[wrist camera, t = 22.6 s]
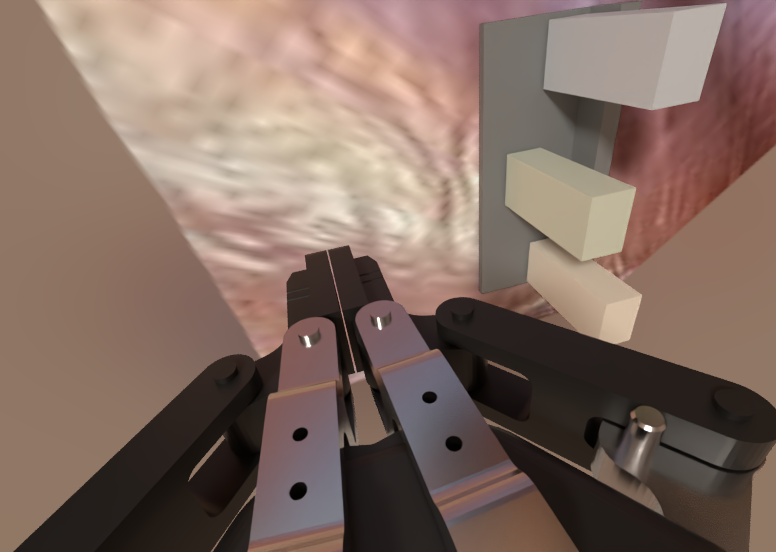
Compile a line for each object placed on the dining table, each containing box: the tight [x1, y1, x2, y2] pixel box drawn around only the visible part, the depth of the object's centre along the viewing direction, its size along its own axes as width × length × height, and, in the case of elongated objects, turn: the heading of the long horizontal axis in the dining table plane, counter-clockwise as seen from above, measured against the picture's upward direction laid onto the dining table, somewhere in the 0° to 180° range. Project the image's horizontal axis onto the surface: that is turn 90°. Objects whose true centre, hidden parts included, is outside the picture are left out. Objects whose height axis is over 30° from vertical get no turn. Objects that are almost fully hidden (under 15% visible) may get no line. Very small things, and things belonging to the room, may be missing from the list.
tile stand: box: [479, 1, 642, 294], centre depth 44 cm, size 13×31×5 cm, turn 7°
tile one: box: [527, 238, 642, 344], centre depth 46 cm, size 4×6×14 cm
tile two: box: [505, 148, 636, 262], centre depth 39 cm, size 4×6×14 cm
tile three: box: [543, 3, 727, 110], centre depth 33 cm, size 4×6×14 cm
